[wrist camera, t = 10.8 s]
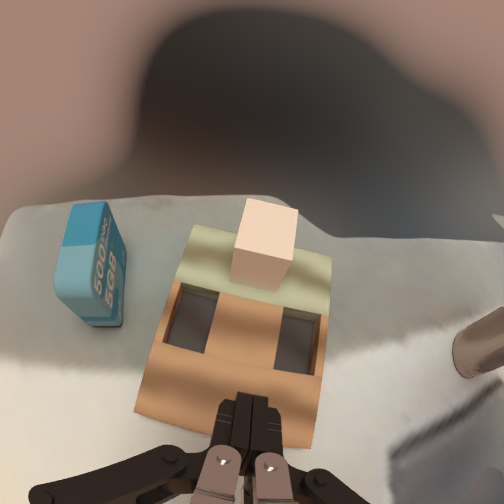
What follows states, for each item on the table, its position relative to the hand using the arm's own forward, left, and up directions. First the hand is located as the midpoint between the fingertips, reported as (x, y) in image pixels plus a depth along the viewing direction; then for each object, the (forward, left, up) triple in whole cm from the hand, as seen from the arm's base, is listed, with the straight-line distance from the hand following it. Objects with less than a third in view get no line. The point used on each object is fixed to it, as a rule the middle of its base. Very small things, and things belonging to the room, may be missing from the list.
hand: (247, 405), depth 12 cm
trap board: (-7, -6, -21) cm, 23 cm away
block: (-14, -12, -18) cm, 26 cm away
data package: (+4, -22, -21) cm, 30 cm away
